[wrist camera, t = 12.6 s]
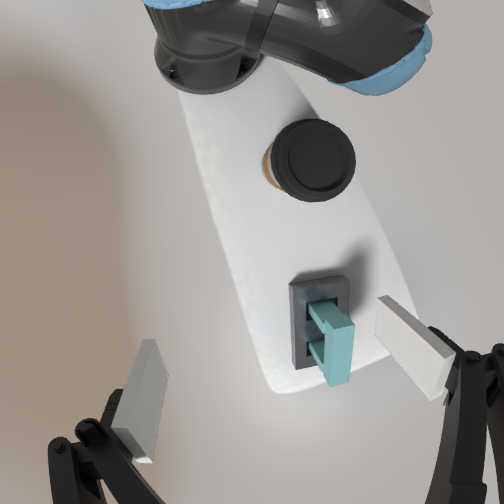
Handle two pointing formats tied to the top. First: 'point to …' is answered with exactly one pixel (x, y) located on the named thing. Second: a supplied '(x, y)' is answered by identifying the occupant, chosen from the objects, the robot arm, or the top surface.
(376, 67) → the robot arm
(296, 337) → the grey slotted slab
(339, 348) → the teal u-shaped block
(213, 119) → the top surface
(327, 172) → the coffee cup
